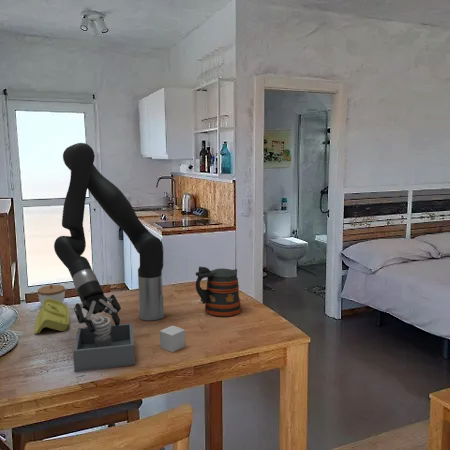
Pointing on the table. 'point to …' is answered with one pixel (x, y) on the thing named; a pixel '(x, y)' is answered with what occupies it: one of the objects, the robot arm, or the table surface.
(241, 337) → the table surface
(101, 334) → the light bulb
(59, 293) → the lidded jar
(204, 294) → the beer stein
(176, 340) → the light grey cube
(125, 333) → the bin
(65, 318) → the plastic component
